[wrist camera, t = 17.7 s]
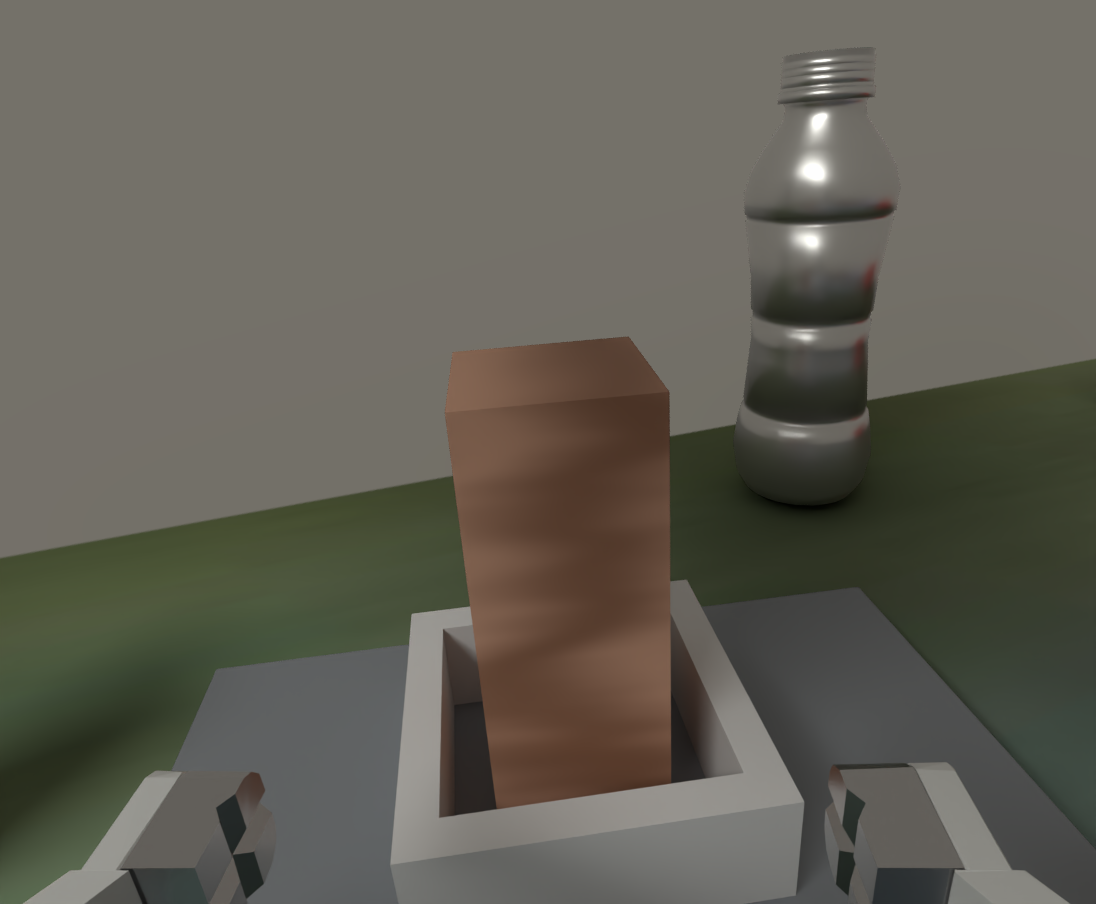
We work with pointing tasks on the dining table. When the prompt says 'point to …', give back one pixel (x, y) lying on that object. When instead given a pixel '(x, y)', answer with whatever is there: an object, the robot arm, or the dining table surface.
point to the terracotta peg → (566, 563)
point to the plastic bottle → (814, 282)
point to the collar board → (619, 817)
